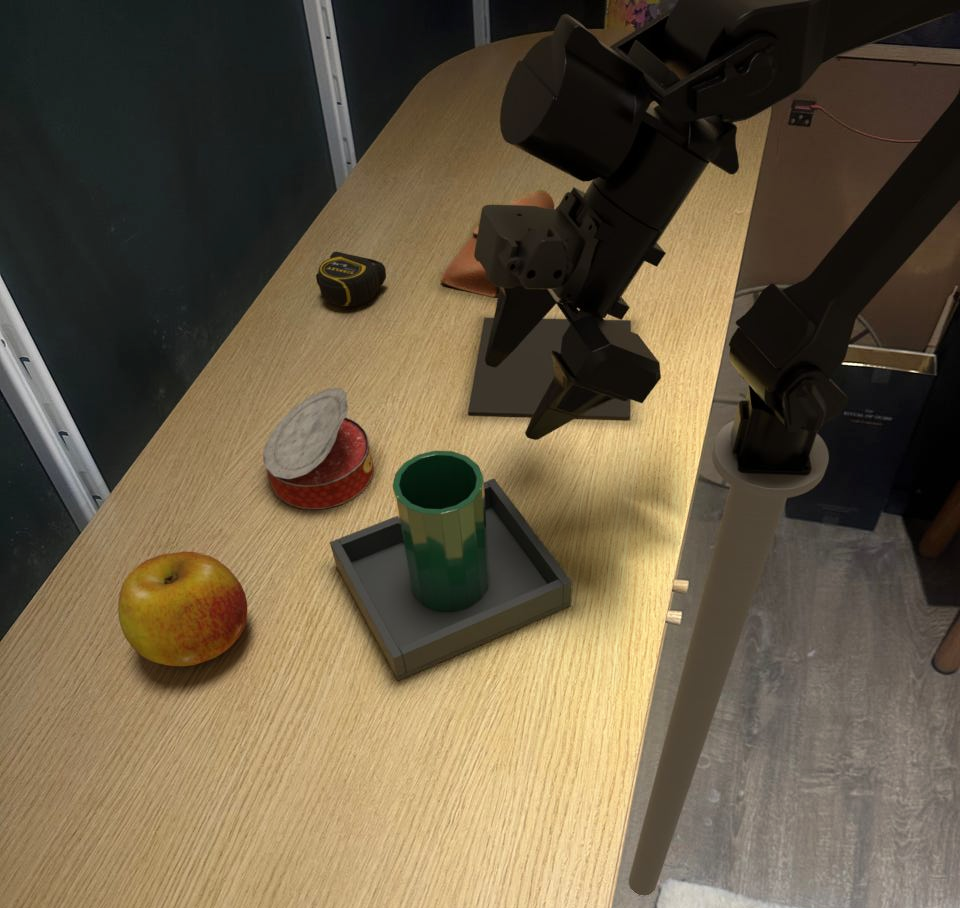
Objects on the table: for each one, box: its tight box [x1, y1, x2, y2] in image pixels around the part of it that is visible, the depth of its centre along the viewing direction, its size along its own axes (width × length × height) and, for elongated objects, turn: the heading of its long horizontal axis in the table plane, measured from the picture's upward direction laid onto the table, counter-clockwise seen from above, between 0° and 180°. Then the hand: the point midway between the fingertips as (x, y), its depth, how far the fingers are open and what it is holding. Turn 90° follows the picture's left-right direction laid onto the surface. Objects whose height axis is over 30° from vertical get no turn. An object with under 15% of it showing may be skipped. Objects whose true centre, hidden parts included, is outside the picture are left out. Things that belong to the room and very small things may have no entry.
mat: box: [467, 317, 632, 421], centre depth 89 cm, size 16×16×1 cm
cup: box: [392, 450, 490, 612], centre depth 67 cm, size 7×7×12 cm
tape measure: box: [315, 251, 387, 307], centre depth 97 cm, size 7×7×4 cm
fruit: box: [117, 551, 248, 667], centre depth 67 cm, size 10×9×8 cm
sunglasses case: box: [439, 189, 555, 298], centre depth 101 cm, size 18×7×7 cm, turn 159°
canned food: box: [262, 386, 375, 510], centre depth 79 cm, size 11×10×10 cm
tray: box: [329, 478, 573, 682], centre depth 71 cm, size 16×14×3 cm
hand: (509, 400), depth 65 cm, fingers open, 9 cm apart
